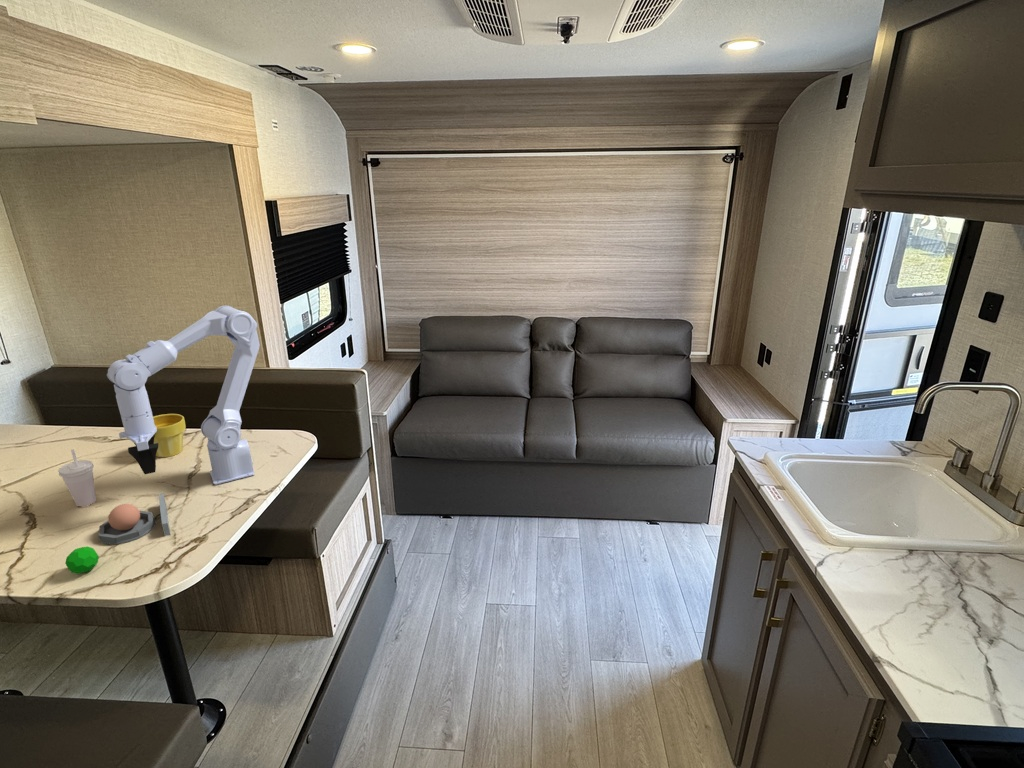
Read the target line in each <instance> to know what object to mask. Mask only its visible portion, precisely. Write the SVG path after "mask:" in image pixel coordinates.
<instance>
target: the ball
mask: <svg viewBox="0 0 1024 768" xmlns="http://www.w3.org/2000/svg"><path fill="white" fill-rule="evenodd" d="M139 511H140V509H138V507H137V506H135V505H134V504H129V503H122V504H119V505H116V506H115V507H114V508H112V510H111V511H110V512H109V514H108V518H107V519H108V520H107V521H109V524H110V525H111V527H113V528H114V529H116V530H128V529H131V528H132V527H134V526H135V525H136V524H137V523H138V521H139V519H140V512H139Z"/></svg>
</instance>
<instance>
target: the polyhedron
mask: <svg viewBox="0 0 1024 768" xmlns="http://www.w3.org/2000/svg"><path fill="white" fill-rule="evenodd" d="M99 559H100V556H99V555H98V553H97V551H96V550H95V549H94V548H93V547H90V546H83V547H82V546H81V547H77V548H75V549H74V550H73V551H72V552H70V553H69V554H68V556H66V559H65V563H64V564H65V565H66V566H65V567H67V568H68V570H69V571H70V573H72V574H76V575H79V574H84V573H88V572H90V571H91V570H92V569H94V568H95V567H96V566H97V564H98V563H99Z"/></svg>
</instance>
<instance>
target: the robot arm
mask: <svg viewBox="0 0 1024 768" xmlns="http://www.w3.org/2000/svg"><path fill="white" fill-rule="evenodd" d="M257 329H258V322H257V321H256V320H255V319H254V317H253V316H252V315H251V314H250V313H249V312H246V311H243V310H240V309H237V308H234V307H233V306H231V305H220V306H219V307H216V309H215V310H211V311H208V313H207V314H205V315H204V316H203V317H201V318H200V319H198V320H197V321H196V322H194V323H193V324H191V325H189V326H188V327H186V328H184V329H183V330H182V331H180V332H179V333H177V334H176V335H174V336H173V337H171V338H169V339H168V340H161V339H157V340H155V341H153V340H150V341H148V342H146V343H145V344H146V346H145V347H143V348H141V349H140V350H138V351H136V352H135V353H133V354H130V353H129V354H127V355H125V358H126V359H119V360H116V361H114V362H113V363H111V364H110V365H109V367H108V369H107V373H106V377H107V379H109V381H110V382H111V383H113V388H114V392H115V399H116V403H117V407H118V411H119V414H120V418H121V422H122V425H123V430H124V431H121V432H119V433H118V436H119V438H120V439H124V438H125V439H128V440H129V441H131V442H132V443H134V446H128V447H127V452H128V454H129V455H130V456H131V457H132V458H134V459H135V461H136V463H138V466H139V468H140V469H141V471H142V473H143V474H144V475H148V474H153V473H156V471H157V468H156V467H157V465H156V464H157V463H156V460H157V459H156V457H157V456H156V453H157V450H158V447H159V445H158V443H155V444H154V438H155V434H156V431H157V428H156V426H155V424H154V419H153V417H154V415H153V411H152V408H151V404H150V399H149V395H148V391H147V389H146V386H145V384H146V383H147V381H148V378H149V377H151V376H153V375H155V374H156V373H158V372H159V371H160V370H163V369H164V368H166V367H168V366H169V365H171V364H172V363H174V362H176V361H177V358H178V354H179V353H180V352H181V351H183V350H186V349H188V348H189V347H191V346H193V345H195V344H197V343H198V342H200V341H202V340H205V338H207V337H210V336H223V337H224V336H227V338H228V339H229V340H230V342H231V344H233V346H234V349H233V352H232V355H231V359H230V362H229V364H228V368H227V372H226V375H225V377H224V381H223V384H222V387H221V389H220V393H219V396H218V398H217V399H218V400H217V402H216V405H214V407H212V409H210V410H209V413H208V415H207V417H206V418H205V419H204V420H203V421H202V423H201V425H200V431H201V434H202V436H203V437H205V438H207V445H206V446H207V451H208V457H209V461H210V462H209V463H210V467H211V470H210V471H209V473H210V477H211V480H212V484H213V485H215V486H216V485H220V484H224V483H229V482H232V481H236V480H240V479H243V478H248V477H253V476H254V475H255V472H254V463H253V461H254V460H253V458H252V453H251V450H250V445H249V443H248V439H247V438H243V439H241V438H242V433H241V432H242V431H241V427H242V426H241V425H242V422H243V421H242V417H241V414H240V409H241V407H242V404H243V401H244V397H245V394H246V390H247V388H248V385H249V382H250V379H251V375H252V373H253V368H254V366H255V363H256V360H257V356H258V354H259V350H260V346H261V345H260V339H259V335H258V330H257Z"/></svg>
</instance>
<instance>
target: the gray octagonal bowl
mask: <svg viewBox="0 0 1024 768" xmlns="http://www.w3.org/2000/svg"><path fill="white" fill-rule="evenodd" d="M139 512H140V519H139V521H138V523H137V524H136V525H135V526H134V527H132V528H131V529H128V530H116V529H114V528H113V527H111V525H110V524H109V521H108V520H107V521H105V522H104V523H102V524H101V525H99V527H98V528H99V529H98V540H99V542H100V543H102V544H104V545H108V546H109V545H111V546H112V545H113V546H114V545H121V544H126V543H130V542H132V541H136V540H138V539H140V538H143V537H144V536H146V535H147V534H149V533H150V532H151V531H152V530H153V529H154V528H155V526H156V525H157V520H156V518H155V516H154V514H153V512H151V511H146V510H139Z"/></svg>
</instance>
